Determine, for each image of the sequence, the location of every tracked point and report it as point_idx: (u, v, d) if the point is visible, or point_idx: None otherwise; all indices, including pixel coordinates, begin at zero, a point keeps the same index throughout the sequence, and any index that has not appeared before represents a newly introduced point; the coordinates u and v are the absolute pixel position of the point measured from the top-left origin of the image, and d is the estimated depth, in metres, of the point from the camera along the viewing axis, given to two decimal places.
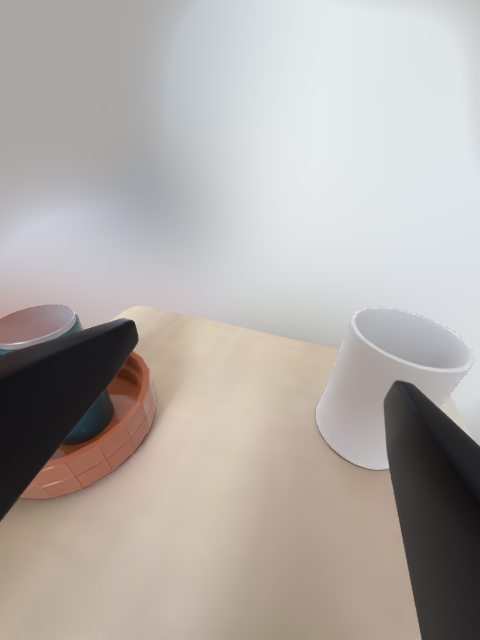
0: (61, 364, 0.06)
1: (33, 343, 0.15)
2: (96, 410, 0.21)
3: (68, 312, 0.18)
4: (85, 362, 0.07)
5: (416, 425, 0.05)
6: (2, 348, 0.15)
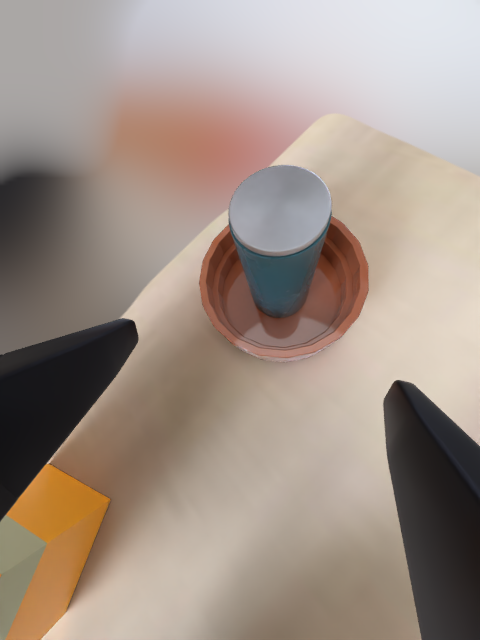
0: (61, 364, 0.06)
1: (287, 253, 0.11)
2: (301, 300, 0.19)
3: (321, 191, 0.11)
4: (85, 362, 0.07)
5: (416, 425, 0.05)
6: (253, 250, 0.11)
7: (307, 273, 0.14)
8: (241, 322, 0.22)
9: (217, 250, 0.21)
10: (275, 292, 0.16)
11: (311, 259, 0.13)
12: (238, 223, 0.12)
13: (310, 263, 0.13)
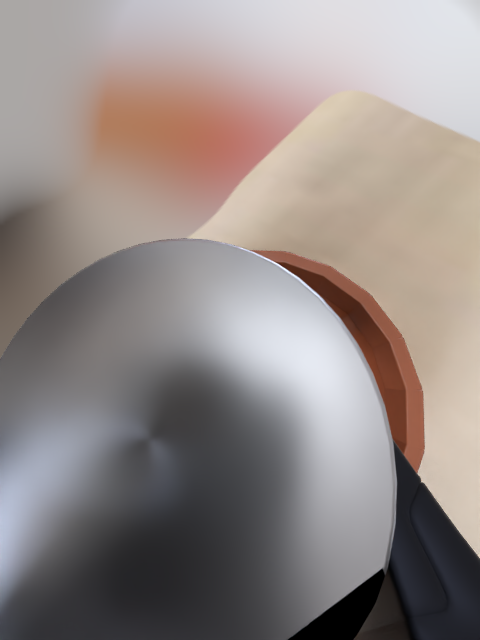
0: None
1: None
2: None
3: (343, 395, 0.02)
4: None
5: None
6: (40, 629, 0.03)
7: None
8: None
9: None
10: None
11: None
12: None
13: None
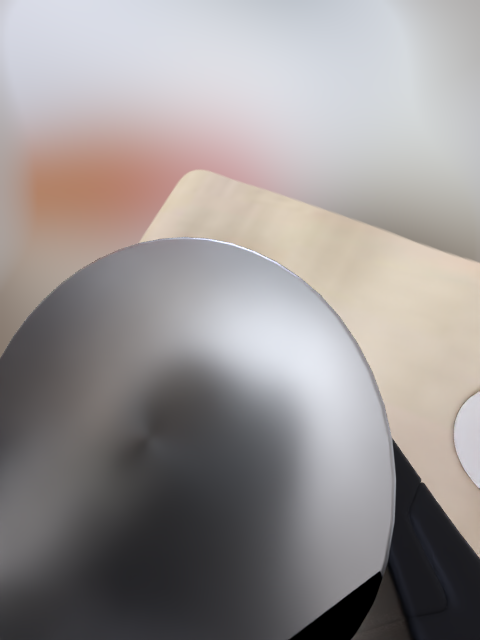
0: None
1: None
2: None
3: (343, 393, 0.02)
4: None
5: None
6: (41, 626, 0.03)
7: None
8: None
9: None
10: None
11: None
12: None
13: None
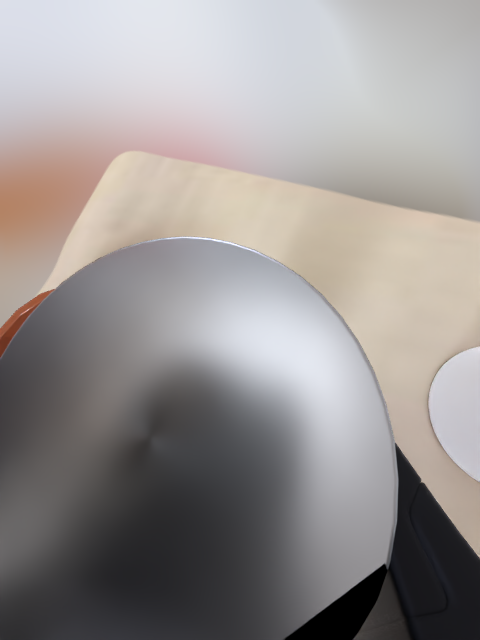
0: None
1: None
2: None
3: (345, 393, 0.02)
4: None
5: None
6: (41, 627, 0.03)
7: None
8: None
9: None
10: None
11: None
12: None
13: None
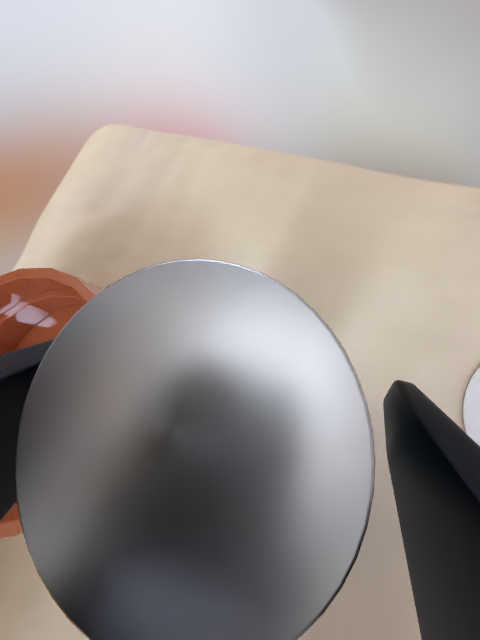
0: None
1: None
2: None
3: (333, 393, 0.03)
4: None
5: (416, 425, 0.05)
6: (82, 587, 0.03)
7: None
8: None
9: None
10: None
11: None
12: (36, 480, 0.03)
13: None
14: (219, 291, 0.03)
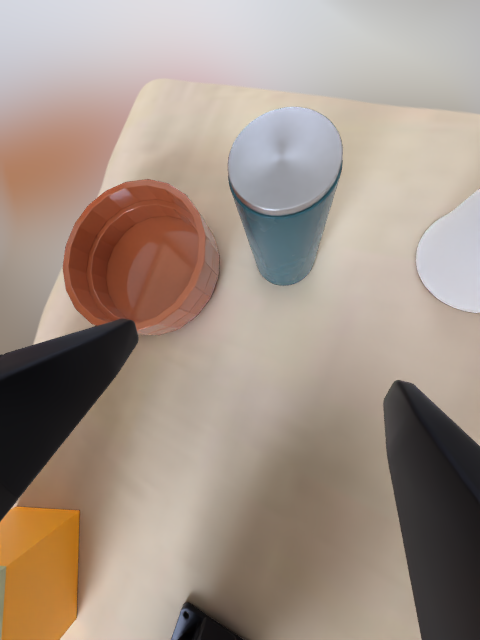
0: (61, 364, 0.06)
1: (293, 211, 0.10)
2: (308, 265, 0.18)
3: (331, 137, 0.10)
4: (85, 362, 0.07)
5: (416, 425, 0.05)
6: (255, 210, 0.11)
7: (314, 235, 0.13)
8: (132, 310, 0.23)
9: (74, 253, 0.21)
10: (280, 256, 0.15)
11: (319, 218, 0.12)
12: (239, 179, 0.11)
13: (318, 223, 0.12)
14: (293, 116, 0.10)
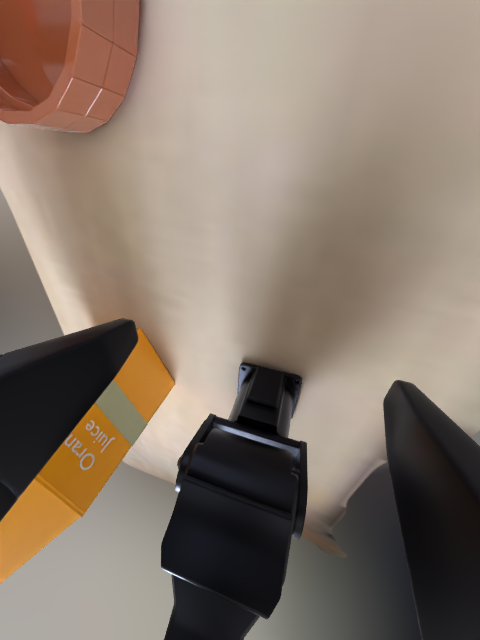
0: (61, 364, 0.06)
1: None
2: None
3: None
4: (85, 362, 0.07)
5: (416, 425, 0.05)
6: None
7: None
8: None
9: None
10: None
11: None
12: None
13: None
14: None
